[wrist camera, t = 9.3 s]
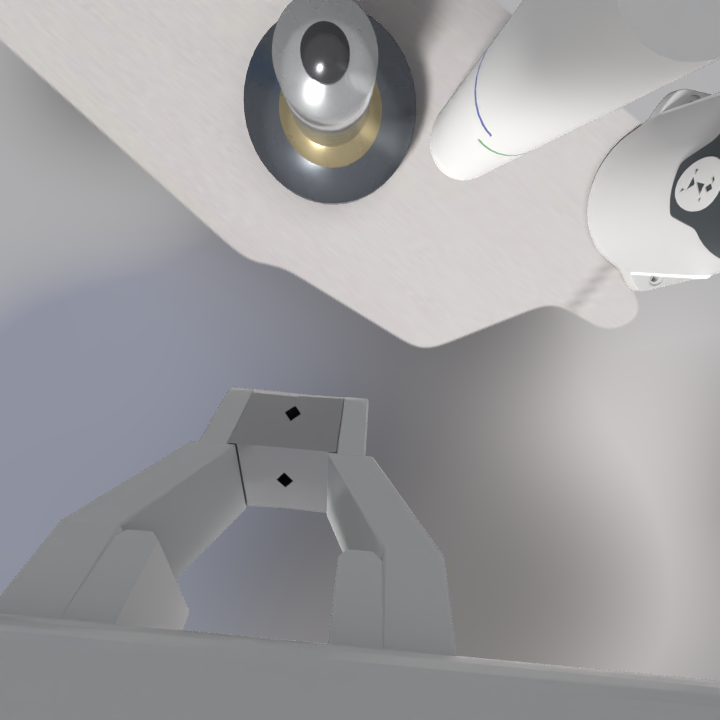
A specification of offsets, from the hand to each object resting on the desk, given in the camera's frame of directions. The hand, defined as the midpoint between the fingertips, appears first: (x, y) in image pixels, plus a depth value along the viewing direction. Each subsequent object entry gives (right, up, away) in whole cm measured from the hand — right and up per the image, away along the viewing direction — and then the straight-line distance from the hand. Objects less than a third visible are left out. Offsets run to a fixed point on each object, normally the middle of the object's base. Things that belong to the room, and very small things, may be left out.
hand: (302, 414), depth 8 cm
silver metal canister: (-1, +24, +23) cm, 33 cm away
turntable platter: (-1, +23, +25) cm, 34 cm away
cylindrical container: (+12, +23, +27) cm, 37 cm away
